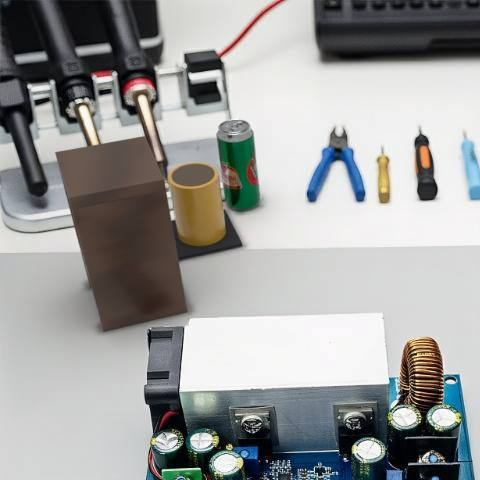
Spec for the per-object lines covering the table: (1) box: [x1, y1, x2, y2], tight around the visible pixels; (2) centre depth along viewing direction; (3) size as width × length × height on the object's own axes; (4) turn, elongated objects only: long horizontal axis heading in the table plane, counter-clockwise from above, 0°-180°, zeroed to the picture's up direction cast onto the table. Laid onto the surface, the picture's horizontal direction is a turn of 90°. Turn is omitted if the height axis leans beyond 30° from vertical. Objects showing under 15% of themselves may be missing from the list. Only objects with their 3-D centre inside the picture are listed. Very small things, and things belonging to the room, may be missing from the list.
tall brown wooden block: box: [54, 135, 188, 332], centre depth 120 cm, size 10×10×19 cm
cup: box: [167, 161, 226, 246], centre depth 133 cm, size 7×7×9 cm
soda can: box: [215, 118, 261, 211], centre depth 138 cm, size 5×5×12 cm
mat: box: [171, 209, 243, 261], centre depth 136 cm, size 9×9×1 cm
